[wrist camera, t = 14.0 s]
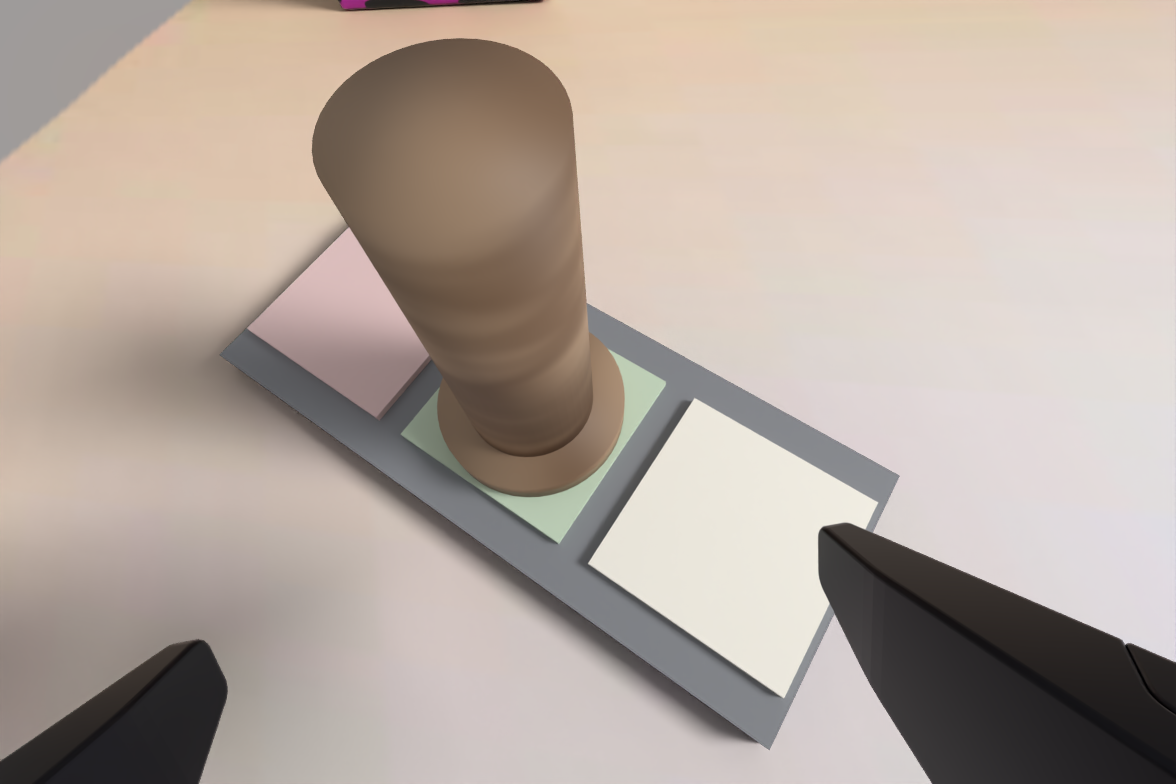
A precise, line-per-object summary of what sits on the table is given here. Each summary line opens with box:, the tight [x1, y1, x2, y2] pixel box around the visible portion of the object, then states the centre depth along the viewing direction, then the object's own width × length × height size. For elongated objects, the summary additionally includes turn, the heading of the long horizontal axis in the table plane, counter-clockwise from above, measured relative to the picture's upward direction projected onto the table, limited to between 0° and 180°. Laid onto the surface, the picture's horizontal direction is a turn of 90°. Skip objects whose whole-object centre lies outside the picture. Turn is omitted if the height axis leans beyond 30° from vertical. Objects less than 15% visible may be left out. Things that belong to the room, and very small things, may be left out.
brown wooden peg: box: [312, 38, 625, 497], centre depth 14 cm, size 6×6×12 cm
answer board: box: [220, 227, 899, 750], centre depth 20 cm, size 9×22×1 cm, turn 57°
